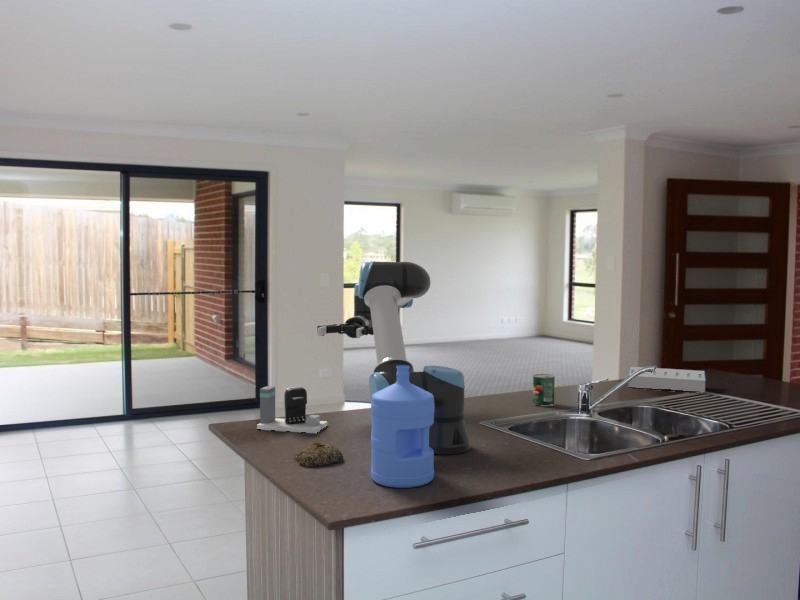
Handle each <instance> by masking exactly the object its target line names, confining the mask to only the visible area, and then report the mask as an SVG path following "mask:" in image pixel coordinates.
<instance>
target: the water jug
mask: <svg viewBox="0 0 800 600" xmlns="http://www.w3.org/2000/svg"><path fill="white" fill-rule="evenodd" d="M396 368H397V373H396V375H397V381H396V383H395V384H393V385H390V386H388V387H386V388H384V389H382V390H380V391H378V392H376V393H374V394H373V395H372V401H371V403H370V413H371V435H370V447H371V465H370V466H371V468H370V477H371V479H372V480H373V482H375V483H377V484H378V485H380V486H384V487H388V488H395V489H396V488H397V489H398V488H399V489H410V488H417V487H422V486H425V485H427V484H429V483H431V482H432V481H433V479H434V478H435V468H434V463H435V462H434V460H435V459H434V456H435V454H434V451H433V449H432V448H430V447H429V428H430V426H431V425H432V424H433V423H434V410H435V405H434V396H433V395H432V394H431V393H429V392H427V391H425V390H423V389H421V388H419V387H417V386H415V385H413V384H411V383H410V382H409V366H405V365H400V366H396Z"/></svg>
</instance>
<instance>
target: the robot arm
mask: <svg viewBox="0 0 800 600" xmlns="http://www.w3.org/2000/svg"><path fill="white" fill-rule="evenodd" d="M353 288H354V290H353V307H354V308H353V310H354V312H353V316H352V317H349V318H348V319H346V321H345V322H343V323H338V324H337V323H334V324H327V325H317V326H316V328H317V329H316V330H317V332H316V334H317V337H324V336H325V335H327V334H336V333H337V334H340V335H346V336H347V337H349V338H351V339H357V338H358V339H360V338H361V337H363V336H368V335H370V336H373V340H374V346H375V347H374V348H375V354H376V361H377V362H376V363H377V365H376V366H375V367H374V369H373V372H372V373H371V374H370V375H369V378H368V387H369V395H370V400H371V402H372V395H373V394H374V393H376V392H378V391H380V390H382V389H384V388H386V387H388V386H390V385H393V384H395V383H396V381H397V375H396V373H397V368H396V366H400V365H405V366H409V382H410V383H411V384H413V385H415V386H417V387H419V388H421V389H423V390H425V391H427V392H429V393H431V394H432V395H433V396H434V405H435V410H434V423H433V424H432V425H431V426H430V428H429V447H430V448H432V449H433V451H434V455H444V456H445V455H457V454H463V453H466V452H468V451H469V450H470V449H471V439H470V437H469V434H468V430H467V428H466V423H465V388H466V386H465V385H466V384H465V377H464V373H463V372H462V371H461V370H459V369H456V368H452V367H447V366H443V365H442V366H441V365H424V366H423V369H422V371H415V370H414V365H413V364H412V363H411V362H410V361H408V360H407V355H406V348H405V342H404V337H403V331H402V325H401V319H400V318H401V317H400V313H399V309H405V308H406V309H407V308H411V307H412V306H413V302H414V299H418V298H421V297H422V296H425V295H426V293H428V291H429V289H430V288H431V278H430V274H429V273H428V271H427V270H426V269H425V268H424V267H422V266H421V265H419V264H417V263H414V262H410V261H375V260H374V261H366V262H363V263H362V264H361V265H360V271H359V277H358V283H355V285H354V287H353Z"/></svg>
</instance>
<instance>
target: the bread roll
mask: <svg viewBox="0 0 800 600" xmlns="http://www.w3.org/2000/svg"><path fill="white" fill-rule="evenodd" d="M294 460H295V463H298V465H299V466H300V467H304V468H311V467H313V468H314V467H315V468H316V467H321V466H327V465H328V466H329V465H332V464H337V463H341V462H343V461H344V455H343V453H342V452H341V450H340V449H339V448H338V447H336V446H334V445H332V444H329V443H325V442H320V441H316V442H313V443H310V445H307V446H305V447H304V448H303V449H302V450H300V451H298V452H297V453H295V454H294Z"/></svg>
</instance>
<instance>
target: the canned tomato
mask: <svg viewBox="0 0 800 600" xmlns="http://www.w3.org/2000/svg"><path fill="white" fill-rule="evenodd" d="M532 376H533V377H532V380H533V381H532V405H533V404H536V405H550V404H554V405H555V379H556V378H555V377H556V375H554V374H549V373H538V374H533V375H532Z"/></svg>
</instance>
